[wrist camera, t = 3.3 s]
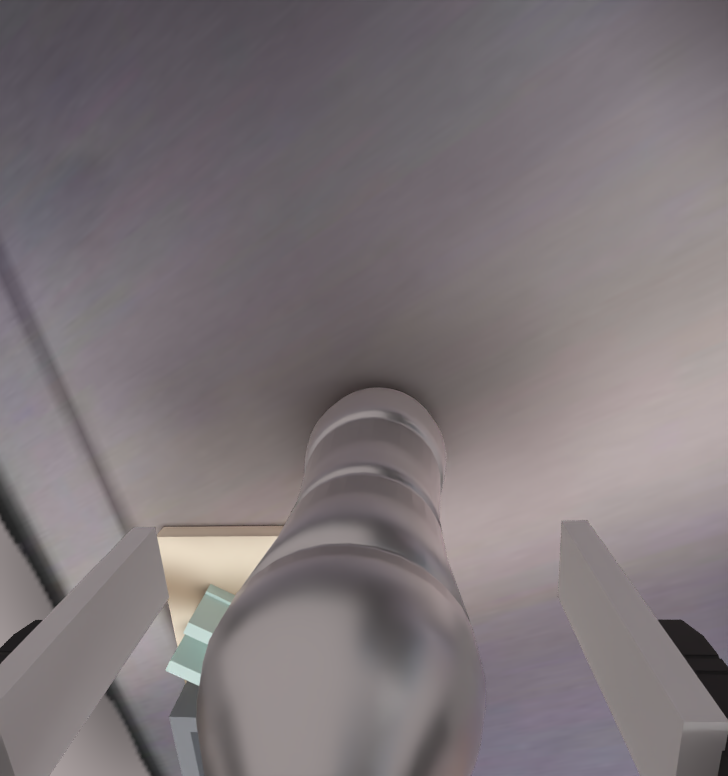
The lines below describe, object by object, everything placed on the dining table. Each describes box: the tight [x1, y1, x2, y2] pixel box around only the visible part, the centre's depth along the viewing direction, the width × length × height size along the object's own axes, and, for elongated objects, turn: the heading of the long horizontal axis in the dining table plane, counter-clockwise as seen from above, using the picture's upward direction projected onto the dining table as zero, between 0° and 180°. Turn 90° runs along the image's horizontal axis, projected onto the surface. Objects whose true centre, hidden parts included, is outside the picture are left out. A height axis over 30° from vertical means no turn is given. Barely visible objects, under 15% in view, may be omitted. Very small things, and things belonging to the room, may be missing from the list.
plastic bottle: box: [196, 387, 486, 776], centre depth 15 cm, size 6×7×20 cm
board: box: [157, 526, 283, 684], centre depth 29 cm, size 21×14×1 cm, turn 4°
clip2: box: [165, 584, 235, 686], centre depth 26 cm, size 4×3×3 cm
